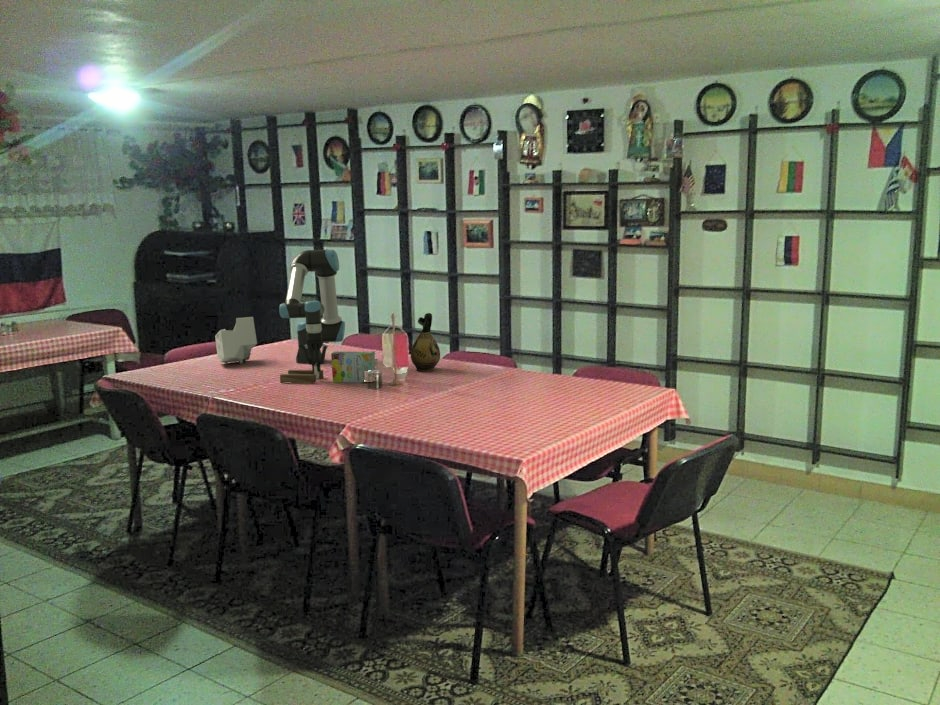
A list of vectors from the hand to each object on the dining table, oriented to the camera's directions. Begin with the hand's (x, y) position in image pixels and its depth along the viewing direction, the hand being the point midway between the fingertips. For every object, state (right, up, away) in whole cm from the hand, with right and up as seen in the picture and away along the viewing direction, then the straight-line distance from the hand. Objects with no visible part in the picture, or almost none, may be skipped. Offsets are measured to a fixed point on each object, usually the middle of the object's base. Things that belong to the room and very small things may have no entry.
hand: (317, 378), depth 424 cm
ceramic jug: (+54, +4, +19) cm, 58 cm away
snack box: (+19, -2, -5) cm, 20 cm away
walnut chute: (-8, -1, +1) cm, 8 cm away
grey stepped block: (-55, +7, +53) cm, 77 cm away
